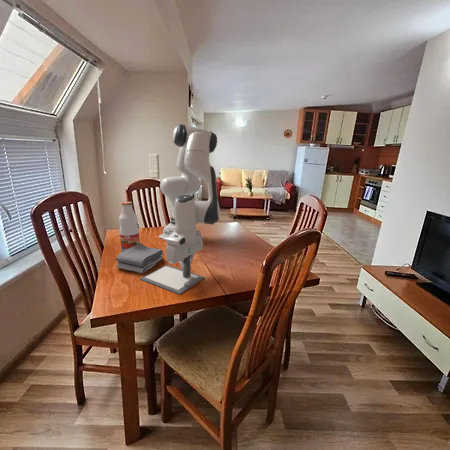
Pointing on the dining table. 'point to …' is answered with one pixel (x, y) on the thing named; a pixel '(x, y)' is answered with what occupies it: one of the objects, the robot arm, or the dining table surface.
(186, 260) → the marker
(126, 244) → the fruit juice
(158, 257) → the towel
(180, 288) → the clipboard
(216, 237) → the dining table surface
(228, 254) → the dining table surface
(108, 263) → the dining table surface
